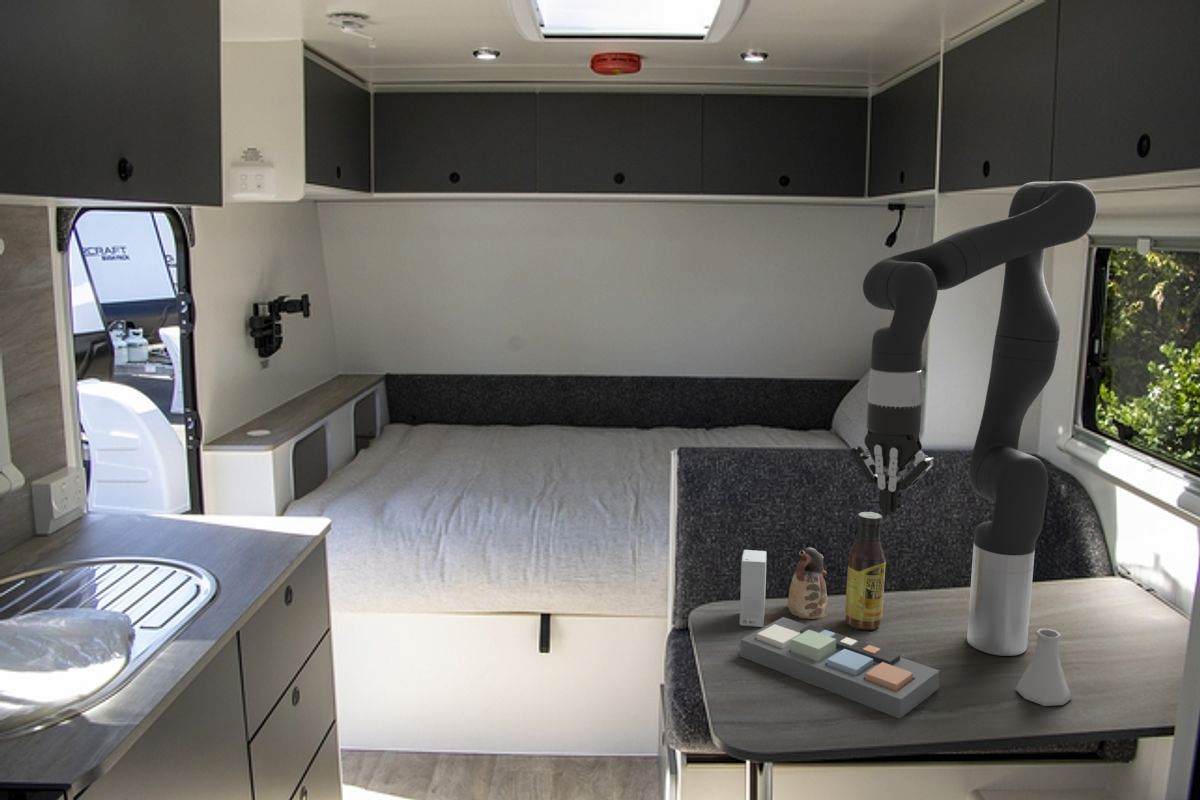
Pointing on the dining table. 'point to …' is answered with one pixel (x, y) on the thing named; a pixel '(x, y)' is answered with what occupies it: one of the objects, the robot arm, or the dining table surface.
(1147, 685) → the dining table surface
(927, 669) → the keypad board
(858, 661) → the key blue
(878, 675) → the block
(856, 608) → the sauce bottle
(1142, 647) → the dining table surface
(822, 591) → the figurine
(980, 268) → the robot arm
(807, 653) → the key sage
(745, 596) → the skincare box
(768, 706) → the dining table surface
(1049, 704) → the flask
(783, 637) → the key cream
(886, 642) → the dining table surface
